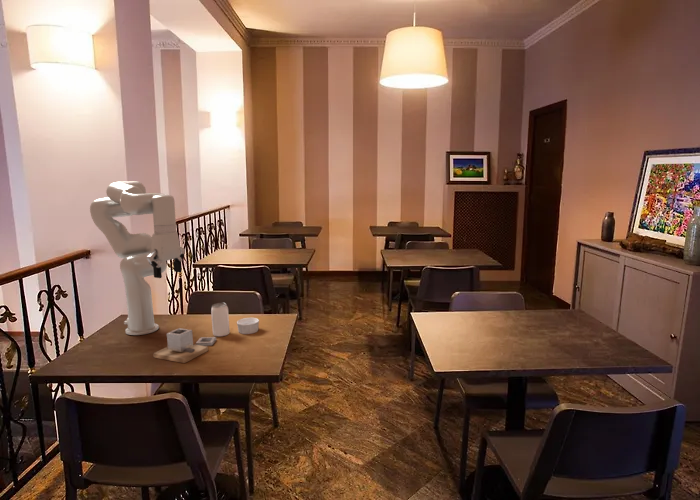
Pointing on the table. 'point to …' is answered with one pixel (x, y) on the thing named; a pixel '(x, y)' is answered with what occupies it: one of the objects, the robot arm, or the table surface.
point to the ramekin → (248, 325)
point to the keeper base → (181, 353)
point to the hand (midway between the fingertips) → (168, 274)
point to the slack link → (211, 339)
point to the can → (220, 319)
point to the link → (180, 340)
